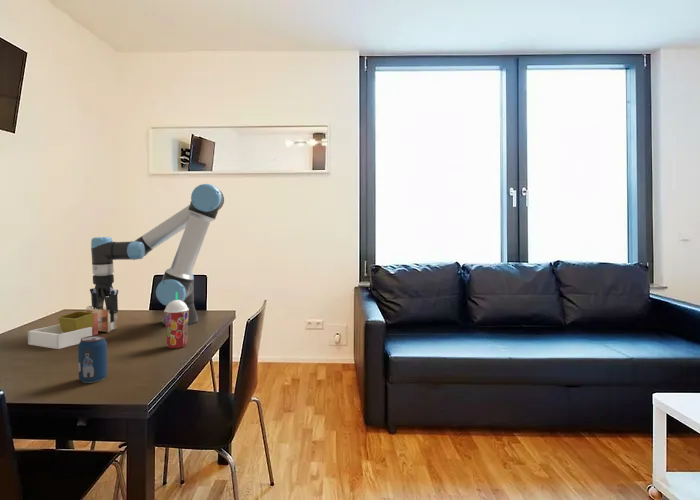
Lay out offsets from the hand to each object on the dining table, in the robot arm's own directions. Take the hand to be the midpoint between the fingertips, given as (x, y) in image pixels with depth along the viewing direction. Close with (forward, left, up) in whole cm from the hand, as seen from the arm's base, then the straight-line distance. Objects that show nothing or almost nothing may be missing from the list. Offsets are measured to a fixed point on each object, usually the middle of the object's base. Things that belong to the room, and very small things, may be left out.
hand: (105, 329), depth 173 cm
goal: (0, +19, -1) cm, 19 cm away
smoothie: (-44, +8, -1) cm, 45 cm away
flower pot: (0, +12, -1) cm, 12 cm away
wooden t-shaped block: (0, +2, 0) cm, 2 cm away
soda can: (-46, +43, -1) cm, 63 cm away
